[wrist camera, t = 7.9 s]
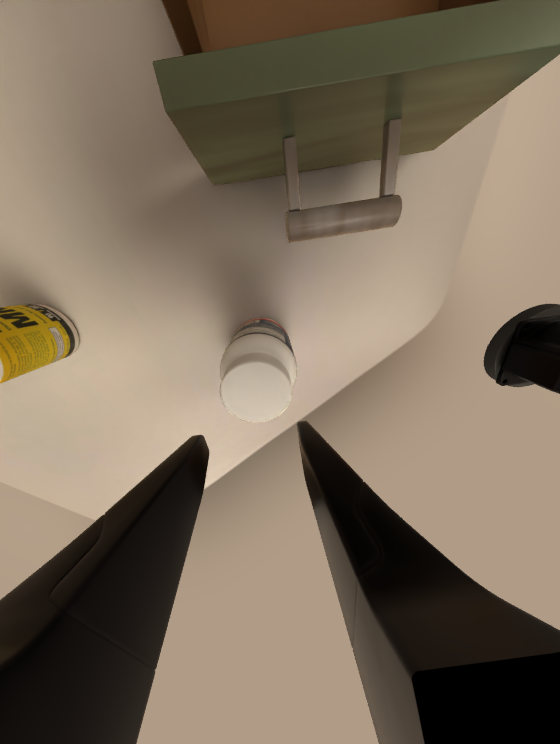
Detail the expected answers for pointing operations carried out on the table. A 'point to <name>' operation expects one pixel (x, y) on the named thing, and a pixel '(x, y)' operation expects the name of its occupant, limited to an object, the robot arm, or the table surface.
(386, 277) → the table surface
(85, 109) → the table surface
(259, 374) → the pill bottle
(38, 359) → the supplement bottle
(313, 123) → the drawer
